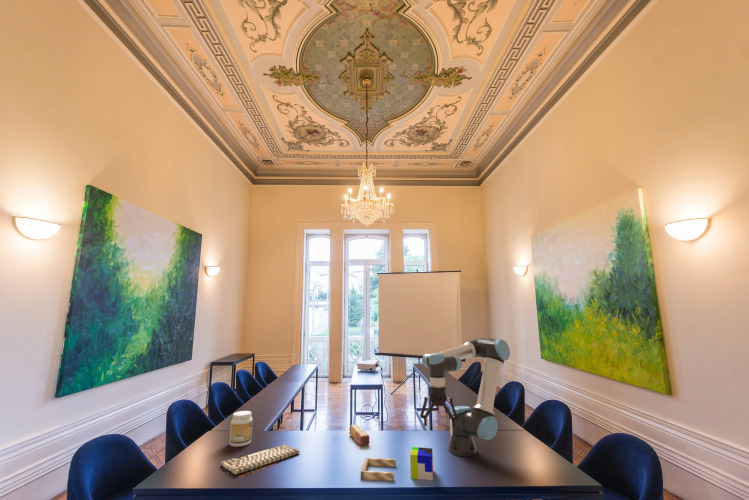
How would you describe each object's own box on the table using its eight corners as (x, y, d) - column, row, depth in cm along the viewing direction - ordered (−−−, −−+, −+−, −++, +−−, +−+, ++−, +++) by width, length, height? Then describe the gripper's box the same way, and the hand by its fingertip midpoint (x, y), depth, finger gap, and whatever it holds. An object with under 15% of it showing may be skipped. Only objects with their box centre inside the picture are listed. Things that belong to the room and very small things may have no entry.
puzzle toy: (432, 480, 153) (431, 456, 155) (410, 478, 155) (410, 454, 157) (433, 470, 163) (432, 448, 165) (412, 469, 165) (412, 446, 167)
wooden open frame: (395, 465, 168) (395, 459, 169) (393, 480, 153) (393, 473, 153) (365, 464, 170) (365, 457, 171) (360, 478, 155) (360, 471, 155)
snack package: (370, 446, 195) (370, 433, 196) (359, 447, 192) (359, 435, 194) (358, 434, 214) (358, 423, 215) (348, 436, 212) (348, 424, 213)
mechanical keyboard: (282, 447, 195) (283, 441, 195) (302, 456, 182) (302, 449, 183) (217, 469, 167) (218, 461, 168) (235, 481, 155) (235, 473, 155)
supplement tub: (253, 444, 197) (255, 413, 201) (231, 449, 190) (234, 417, 194) (248, 438, 207) (250, 409, 210) (227, 442, 200) (229, 412, 204)
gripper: (460, 384, 168) (462, 432, 164) (414, 383, 171) (415, 430, 167) (462, 387, 161) (465, 437, 157) (414, 386, 164) (415, 435, 159)
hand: (439, 433), depth 162 cm, fingers open, 11 cm apart
